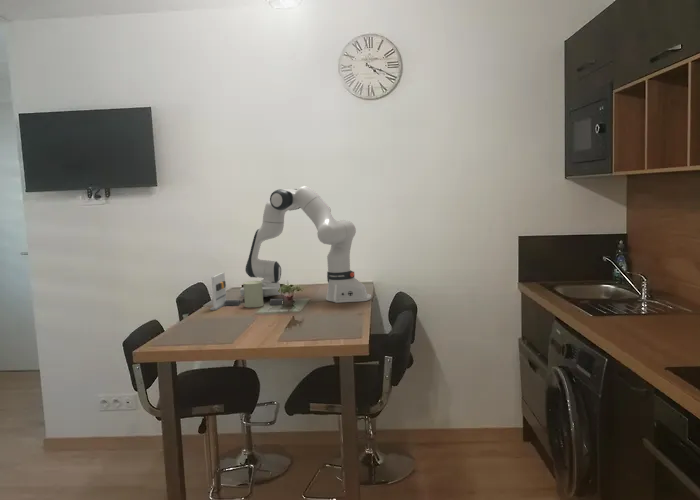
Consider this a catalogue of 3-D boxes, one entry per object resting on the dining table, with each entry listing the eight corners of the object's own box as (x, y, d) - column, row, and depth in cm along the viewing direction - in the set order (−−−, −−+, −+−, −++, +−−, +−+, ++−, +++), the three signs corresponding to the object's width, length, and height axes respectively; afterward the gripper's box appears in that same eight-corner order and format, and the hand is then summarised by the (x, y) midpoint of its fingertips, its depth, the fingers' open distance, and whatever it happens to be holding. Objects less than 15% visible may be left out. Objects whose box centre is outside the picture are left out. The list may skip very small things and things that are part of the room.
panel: (228, 303, 293) (226, 272, 291) (218, 310, 279) (215, 277, 278) (220, 304, 294) (218, 272, 292) (210, 310, 280) (207, 277, 278)
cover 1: (240, 304, 291) (240, 299, 290) (238, 305, 288) (238, 300, 287) (227, 304, 292) (226, 299, 291) (225, 305, 289) (224, 300, 289)
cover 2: (283, 303, 287) (283, 298, 287) (282, 304, 285) (281, 299, 284) (271, 303, 288) (271, 298, 288) (270, 305, 285) (269, 299, 285)
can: (262, 307, 282) (261, 282, 280) (243, 308, 281) (241, 283, 280) (264, 303, 291) (262, 279, 289) (245, 304, 290) (244, 280, 289)
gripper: (244, 283, 304) (235, 288, 291) (282, 282, 301) (275, 287, 288) (245, 295, 305) (236, 300, 292) (283, 294, 302) (275, 299, 288)
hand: (255, 293), depth 290 cm, fingers closed, pressing on can
